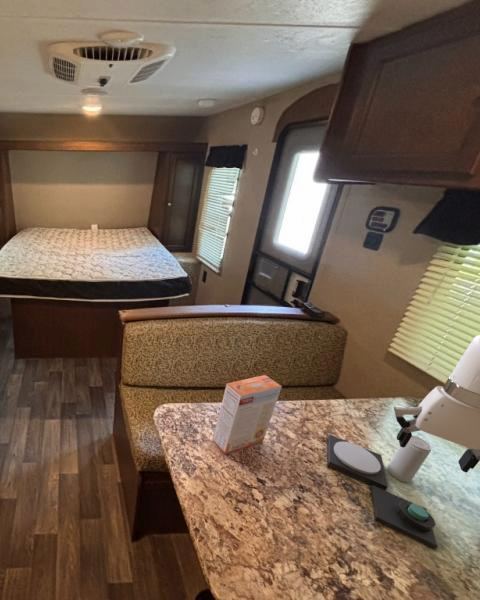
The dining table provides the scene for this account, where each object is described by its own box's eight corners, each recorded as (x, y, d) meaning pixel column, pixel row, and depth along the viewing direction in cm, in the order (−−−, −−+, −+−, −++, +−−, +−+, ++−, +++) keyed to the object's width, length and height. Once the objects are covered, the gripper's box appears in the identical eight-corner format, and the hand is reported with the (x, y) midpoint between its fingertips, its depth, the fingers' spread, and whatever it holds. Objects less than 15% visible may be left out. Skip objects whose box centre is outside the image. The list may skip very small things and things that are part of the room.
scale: (378, 459, 89) (382, 452, 88) (384, 492, 80) (389, 484, 79) (326, 439, 95) (329, 432, 94) (326, 466, 86) (330, 459, 85)
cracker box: (247, 428, 98) (265, 373, 90) (263, 443, 93) (284, 386, 84) (210, 438, 94) (226, 381, 85) (224, 455, 88) (242, 396, 80)
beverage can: (386, 464, 88) (406, 431, 83) (410, 475, 85) (432, 442, 80) (385, 474, 85) (405, 441, 80) (410, 487, 82) (432, 453, 77)
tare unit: (423, 512, 76) (429, 504, 74) (434, 549, 68) (441, 541, 67) (369, 488, 81) (374, 480, 80) (374, 520, 73) (379, 512, 72)
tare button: (423, 513, 73) (426, 508, 72) (426, 524, 70) (430, 519, 70) (406, 505, 74) (409, 501, 74) (408, 515, 72) (411, 511, 71)
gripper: (531, 403, 61) (483, 465, 68) (410, 368, 71) (378, 425, 77) (550, 426, 56) (495, 491, 62) (415, 384, 65) (380, 444, 72)
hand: (430, 454), depth 70 cm, fingers open, 9 cm apart
